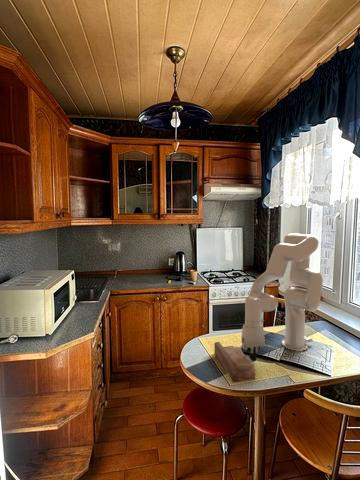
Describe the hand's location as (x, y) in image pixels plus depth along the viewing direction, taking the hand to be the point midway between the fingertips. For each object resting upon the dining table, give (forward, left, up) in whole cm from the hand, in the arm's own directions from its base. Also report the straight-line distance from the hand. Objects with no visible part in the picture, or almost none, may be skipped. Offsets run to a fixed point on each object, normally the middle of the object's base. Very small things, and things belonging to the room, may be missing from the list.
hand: (253, 359), depth 127 cm
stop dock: (+9, 0, -1) cm, 9 cm away
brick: (+8, 0, -2) cm, 8 cm away
